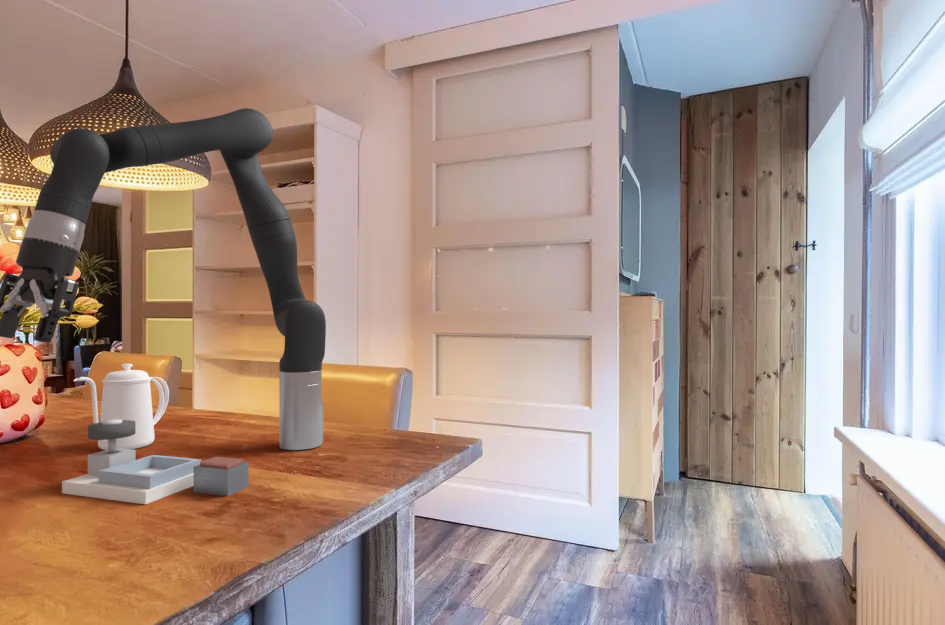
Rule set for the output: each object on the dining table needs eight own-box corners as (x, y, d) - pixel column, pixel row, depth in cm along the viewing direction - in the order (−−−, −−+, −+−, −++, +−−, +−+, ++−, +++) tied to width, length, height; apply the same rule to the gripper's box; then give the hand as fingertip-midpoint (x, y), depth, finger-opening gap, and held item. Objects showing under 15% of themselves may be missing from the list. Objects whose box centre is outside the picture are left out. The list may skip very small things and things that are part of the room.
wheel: (115, 447, 99) (115, 416, 99) (144, 450, 97) (144, 418, 97) (77, 456, 92) (77, 423, 92) (108, 460, 90) (108, 425, 90)
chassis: (131, 471, 102) (132, 442, 102) (208, 479, 96) (208, 449, 96) (62, 493, 89) (62, 460, 89) (145, 504, 84) (145, 469, 84)
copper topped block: (215, 483, 95) (215, 455, 95) (248, 487, 93) (248, 458, 93) (193, 492, 90) (193, 462, 90) (227, 496, 88) (227, 466, 88)
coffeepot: (51, 459, 110) (52, 368, 110) (148, 433, 134) (148, 359, 134) (95, 462, 108) (96, 370, 108) (185, 435, 132) (186, 359, 132)
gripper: (105, 252, 90) (78, 347, 86) (45, 249, 94) (17, 339, 91) (60, 236, 83) (29, 339, 79) (-2, 234, 87) (-34, 331, 84)
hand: (23, 339), depth 85 cm, fingers open, 8 cm apart
